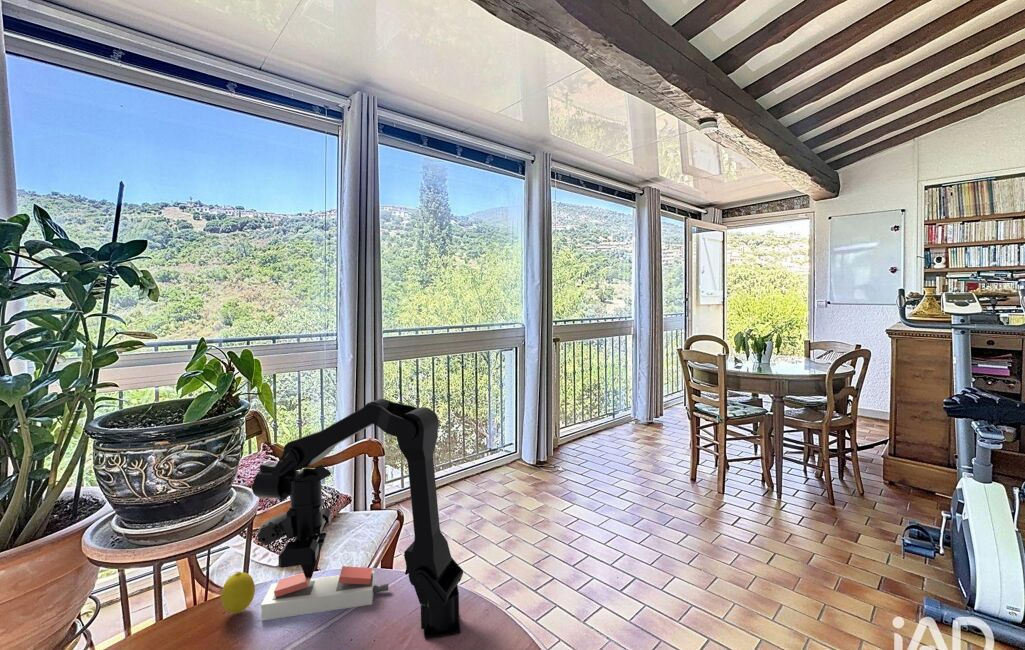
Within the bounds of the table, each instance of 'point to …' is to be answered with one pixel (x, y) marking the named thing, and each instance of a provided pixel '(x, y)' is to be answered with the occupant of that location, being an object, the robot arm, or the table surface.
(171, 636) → the table surface
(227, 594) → the lemon
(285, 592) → the block
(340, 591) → the power strip
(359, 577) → the block
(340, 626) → the table surface
